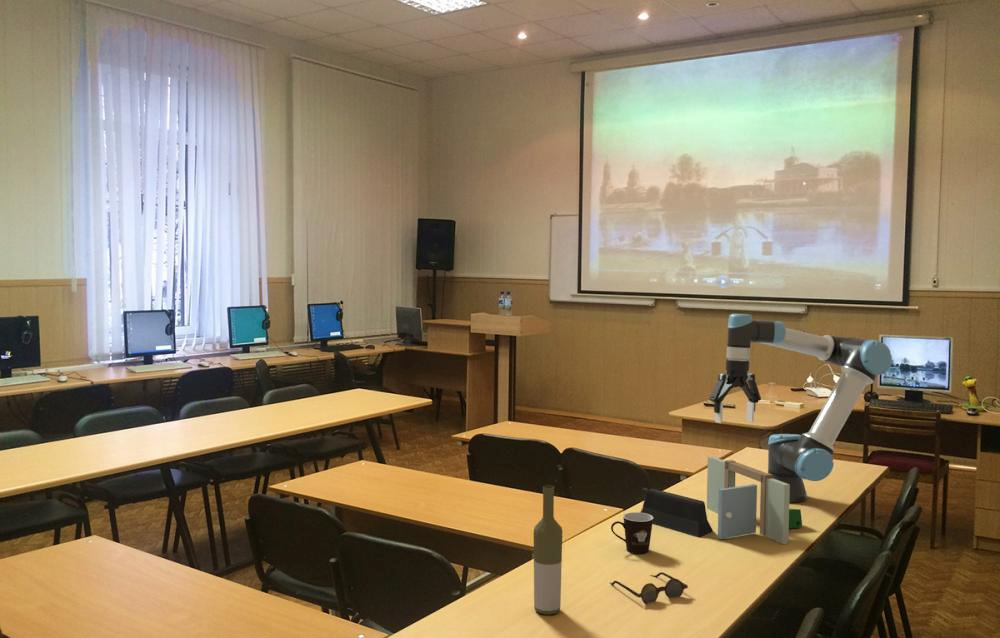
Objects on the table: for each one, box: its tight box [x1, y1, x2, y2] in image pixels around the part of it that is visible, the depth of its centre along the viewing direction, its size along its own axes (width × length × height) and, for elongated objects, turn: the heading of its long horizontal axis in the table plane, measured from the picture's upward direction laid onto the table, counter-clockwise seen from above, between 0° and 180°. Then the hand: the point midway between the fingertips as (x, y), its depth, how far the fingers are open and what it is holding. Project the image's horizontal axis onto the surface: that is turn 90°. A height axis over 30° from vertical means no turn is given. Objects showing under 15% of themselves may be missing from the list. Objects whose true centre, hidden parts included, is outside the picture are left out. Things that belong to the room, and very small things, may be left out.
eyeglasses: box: [609, 571, 689, 605], centre depth 193 cm, size 15×15×5 cm
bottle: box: [533, 484, 563, 615], centre depth 180 cm, size 7×7×30 cm
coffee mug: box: [610, 511, 654, 555], centre depth 221 cm, size 12×9×10 cm
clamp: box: [789, 508, 803, 529], centre depth 244 cm, size 12×6×9 cm, turn 97°
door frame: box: [706, 456, 790, 545], centre depth 245 cm, size 3×38×19 cm, turn 20°
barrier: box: [640, 488, 714, 538], centre depth 244 cm, size 24×9×10 cm, turn 42°
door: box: [717, 484, 758, 540], centre depth 232 cm, size 14×3×15 cm, turn 115°
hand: (734, 421), depth 257 cm, fingers open, 13 cm apart
